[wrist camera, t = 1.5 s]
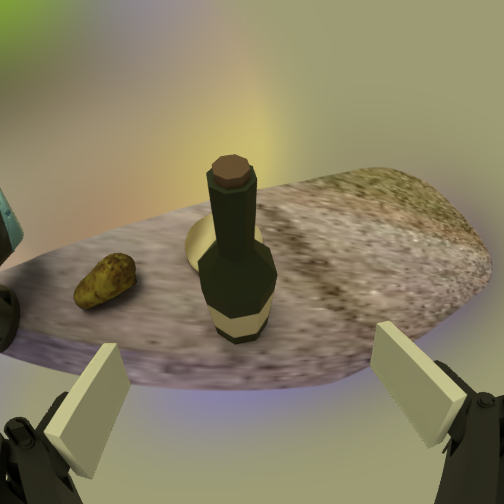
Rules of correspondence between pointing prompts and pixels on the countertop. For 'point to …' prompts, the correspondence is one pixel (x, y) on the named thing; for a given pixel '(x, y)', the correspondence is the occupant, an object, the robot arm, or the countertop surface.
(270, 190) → the countertop surface
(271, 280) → the wine bottle
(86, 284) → the potato
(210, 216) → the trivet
